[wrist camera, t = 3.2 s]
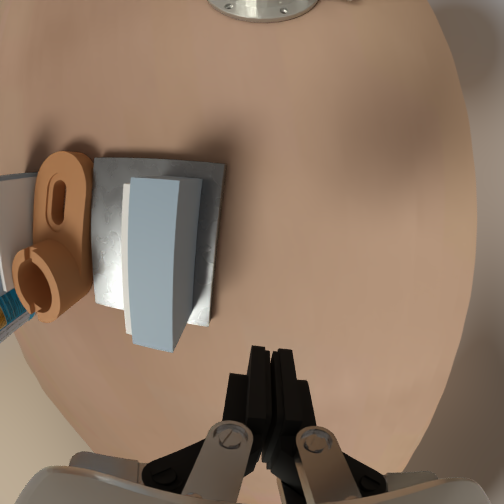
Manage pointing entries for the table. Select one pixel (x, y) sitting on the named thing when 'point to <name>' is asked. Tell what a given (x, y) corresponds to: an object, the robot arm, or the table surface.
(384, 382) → the table surface
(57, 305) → the bracket
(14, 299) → the beverage bottle
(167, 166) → the plate
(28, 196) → the block
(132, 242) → the block
